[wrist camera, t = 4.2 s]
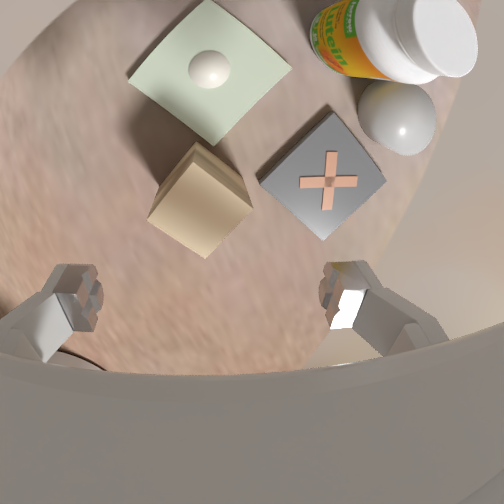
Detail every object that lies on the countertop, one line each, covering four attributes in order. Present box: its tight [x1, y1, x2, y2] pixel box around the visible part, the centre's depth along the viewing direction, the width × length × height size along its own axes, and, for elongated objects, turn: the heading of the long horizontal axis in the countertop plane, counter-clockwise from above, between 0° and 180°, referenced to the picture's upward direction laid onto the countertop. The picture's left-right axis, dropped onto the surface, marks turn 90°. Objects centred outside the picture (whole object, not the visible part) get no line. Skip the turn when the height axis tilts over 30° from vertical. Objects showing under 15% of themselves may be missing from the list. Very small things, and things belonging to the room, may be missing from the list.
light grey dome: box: [358, 80, 436, 155], centre depth 16 cm, size 5×5×3 cm
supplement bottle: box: [310, 0, 478, 84], centre depth 10 cm, size 5×5×10 cm
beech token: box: [147, 141, 253, 259], centre depth 17 cm, size 4×4×5 cm
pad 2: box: [258, 111, 386, 241], centre depth 20 cm, size 7×7×1 cm
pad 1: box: [128, 0, 292, 146], centre depth 14 cm, size 7×7×1 cm
